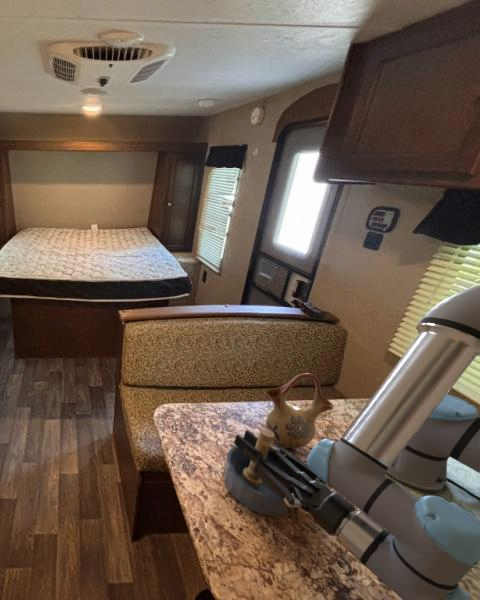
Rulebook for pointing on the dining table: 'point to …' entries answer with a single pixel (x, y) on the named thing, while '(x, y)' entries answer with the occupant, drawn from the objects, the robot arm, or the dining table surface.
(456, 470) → the dining table surface
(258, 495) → the bowl
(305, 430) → the ceramic vessel
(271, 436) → the wooden pestle
